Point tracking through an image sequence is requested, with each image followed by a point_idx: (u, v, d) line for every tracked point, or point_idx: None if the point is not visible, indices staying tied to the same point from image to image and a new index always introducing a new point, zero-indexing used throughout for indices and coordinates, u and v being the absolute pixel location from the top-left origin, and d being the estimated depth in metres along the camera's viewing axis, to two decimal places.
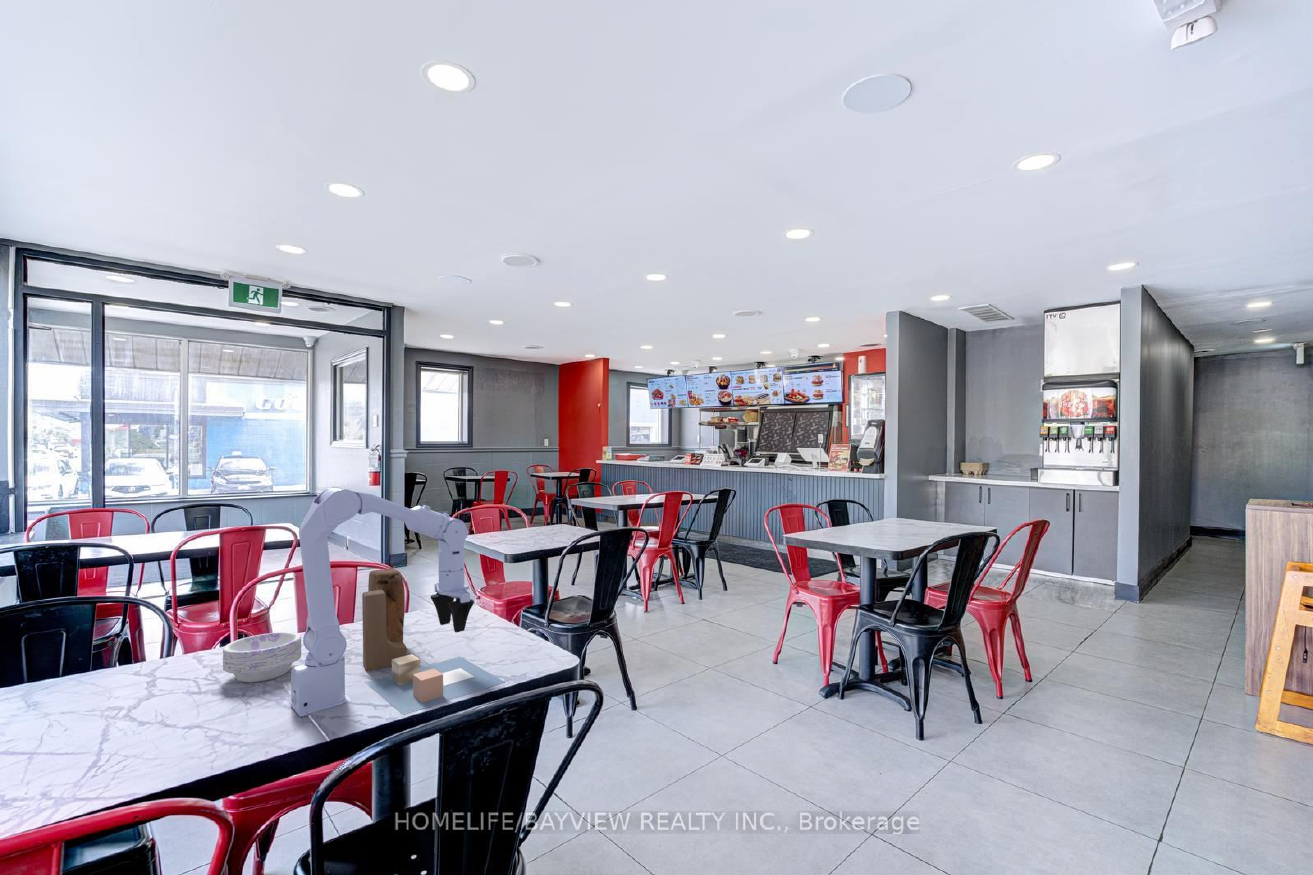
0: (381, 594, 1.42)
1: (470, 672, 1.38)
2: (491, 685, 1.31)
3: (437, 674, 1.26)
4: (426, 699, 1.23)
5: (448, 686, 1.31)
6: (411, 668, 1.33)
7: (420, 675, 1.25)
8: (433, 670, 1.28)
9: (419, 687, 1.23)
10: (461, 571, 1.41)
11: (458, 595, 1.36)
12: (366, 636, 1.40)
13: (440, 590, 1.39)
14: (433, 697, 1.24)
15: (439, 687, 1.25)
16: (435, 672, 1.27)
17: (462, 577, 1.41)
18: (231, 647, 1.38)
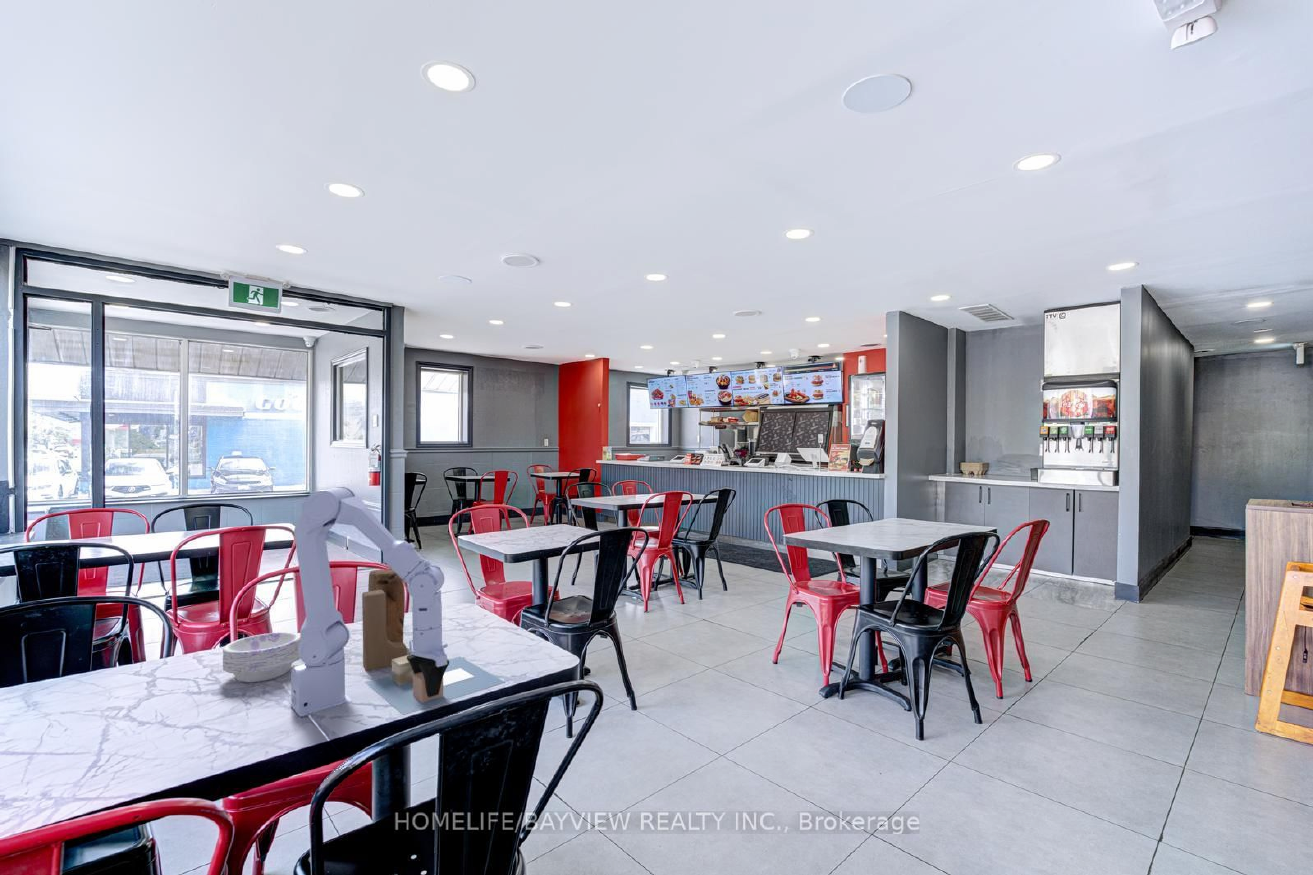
0: (381, 594, 1.42)
1: (470, 672, 1.38)
2: (491, 685, 1.31)
3: None
4: (426, 699, 1.23)
5: (448, 686, 1.31)
6: (411, 668, 1.33)
7: (420, 675, 1.25)
8: None
9: (419, 687, 1.23)
10: (438, 629, 1.25)
11: (433, 658, 1.21)
12: (366, 636, 1.40)
13: (414, 651, 1.24)
14: (433, 697, 1.24)
15: None
16: None
17: (439, 635, 1.25)
18: (231, 647, 1.38)
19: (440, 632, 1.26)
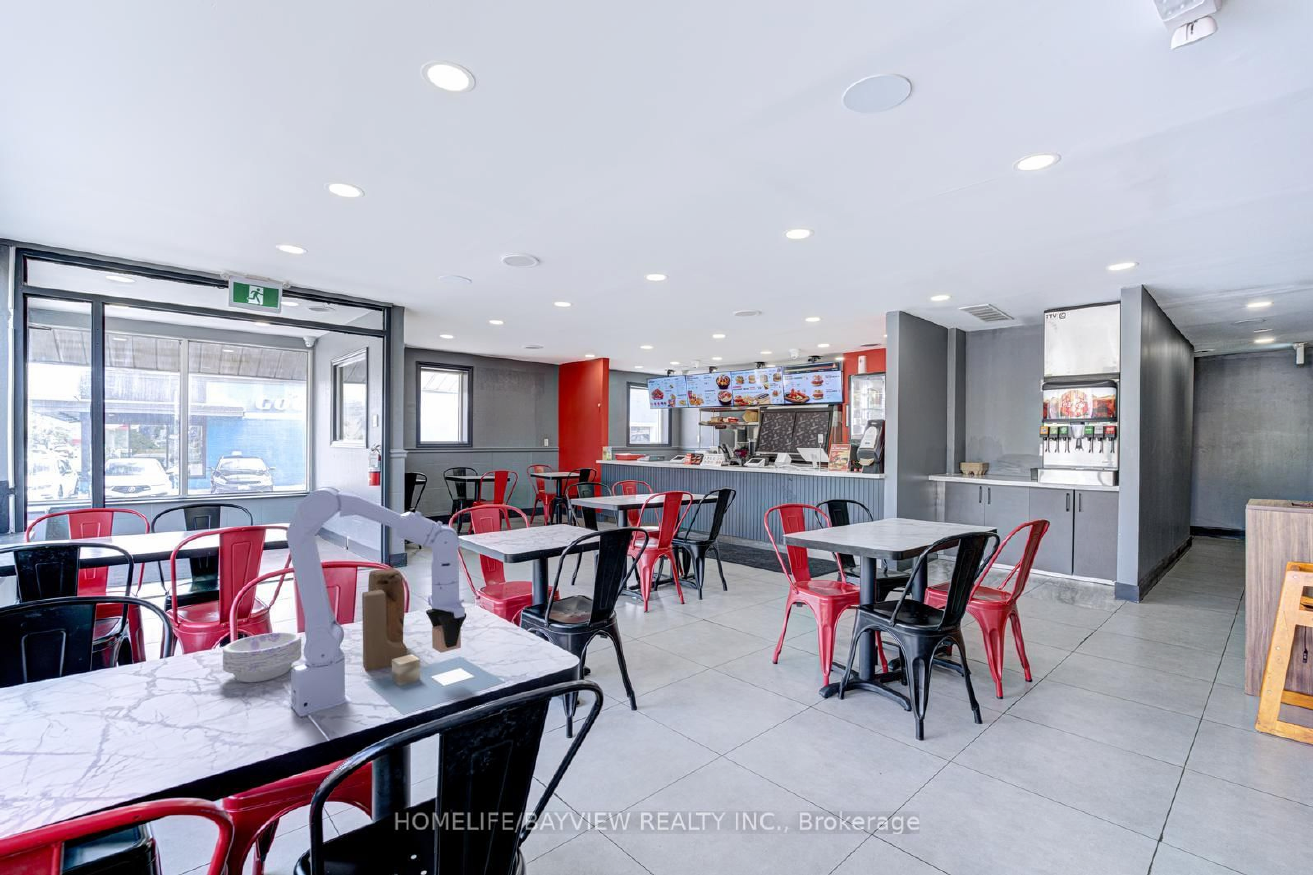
0: (381, 594, 1.42)
1: (470, 672, 1.38)
2: (491, 685, 1.31)
3: None
4: (445, 650, 1.31)
5: (448, 686, 1.31)
6: (411, 668, 1.33)
7: (439, 628, 1.33)
8: None
9: (438, 638, 1.31)
10: (455, 584, 1.32)
11: (452, 610, 1.28)
12: (366, 636, 1.40)
13: (433, 604, 1.31)
14: (451, 648, 1.32)
15: None
16: None
17: (457, 590, 1.32)
18: (231, 647, 1.38)
19: (457, 587, 1.33)
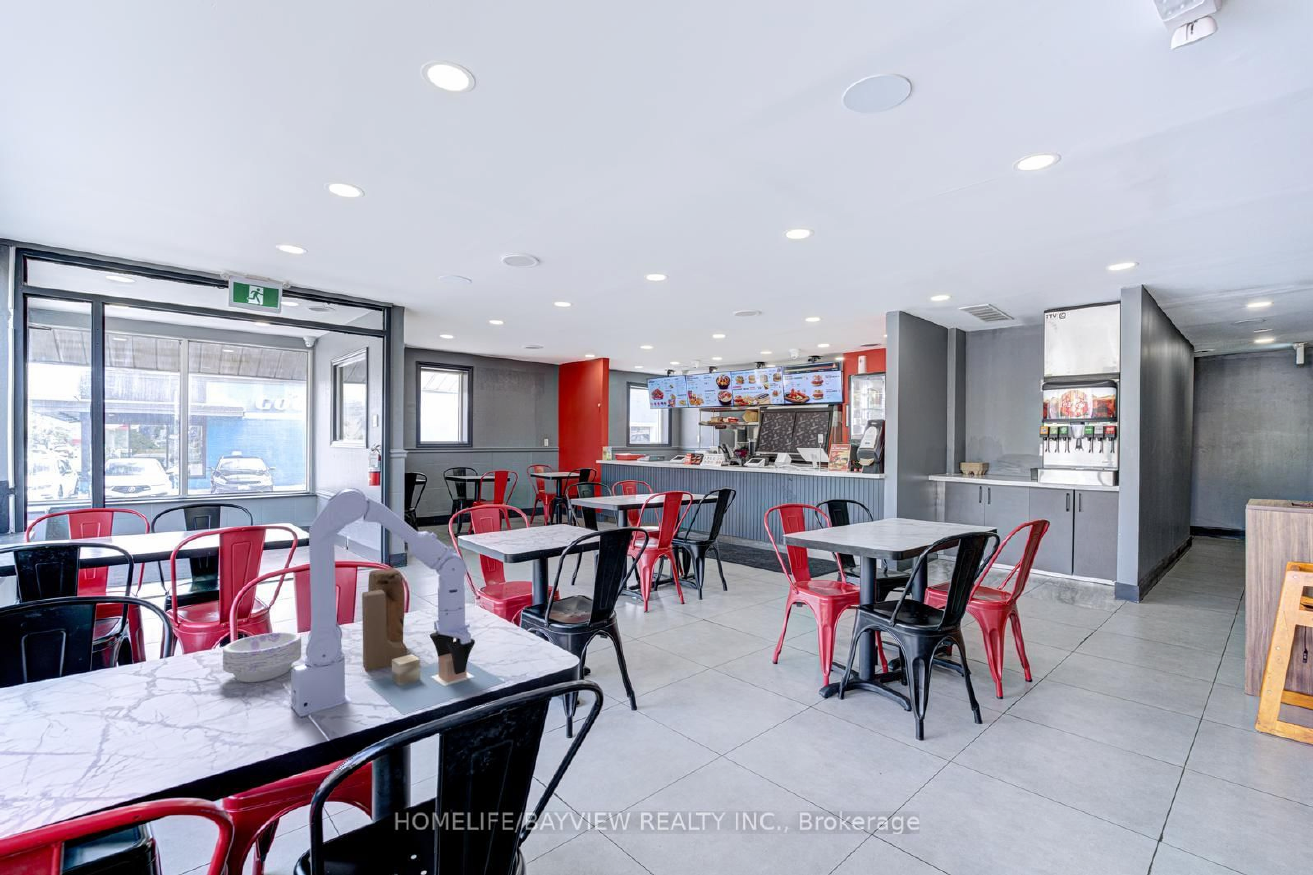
0: (381, 594, 1.42)
1: (470, 672, 1.38)
2: (491, 685, 1.31)
3: None
4: (451, 679, 1.33)
5: (448, 686, 1.31)
6: (411, 668, 1.33)
7: (445, 657, 1.35)
8: None
9: (445, 668, 1.33)
10: (461, 609, 1.35)
11: (458, 636, 1.31)
12: (366, 636, 1.40)
13: (440, 630, 1.33)
14: (457, 677, 1.34)
15: None
16: None
17: (462, 616, 1.35)
18: (231, 647, 1.38)
19: (463, 613, 1.36)
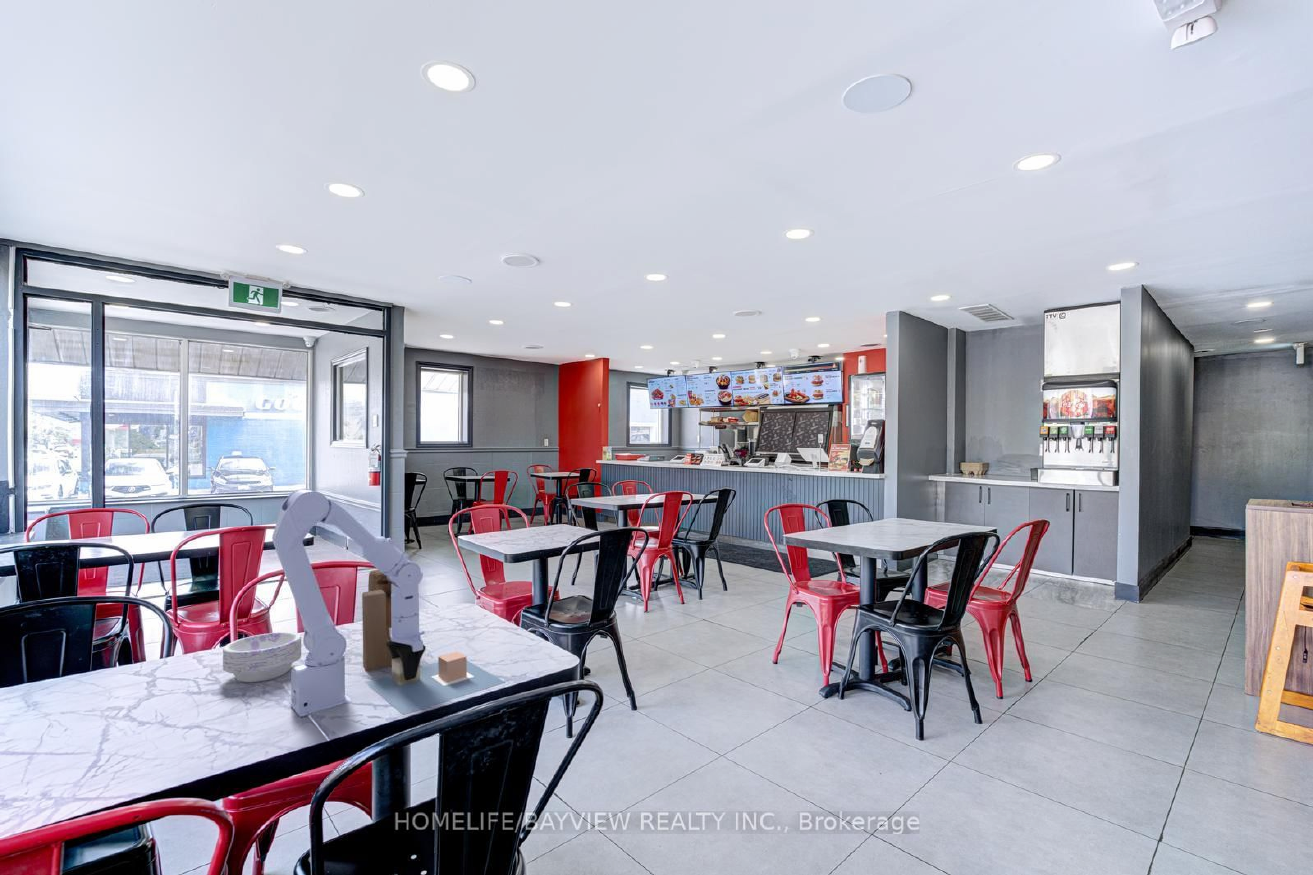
0: (381, 594, 1.42)
1: (470, 672, 1.38)
2: (491, 685, 1.31)
3: (461, 656, 1.36)
4: (451, 679, 1.33)
5: (448, 686, 1.31)
6: None
7: (445, 657, 1.35)
8: (457, 653, 1.38)
9: (445, 668, 1.33)
10: (415, 616, 1.34)
11: (410, 643, 1.30)
12: (366, 636, 1.40)
13: (392, 637, 1.32)
14: (457, 677, 1.34)
15: (463, 668, 1.35)
16: (459, 654, 1.37)
17: (416, 623, 1.34)
18: (231, 647, 1.38)
19: (417, 620, 1.34)
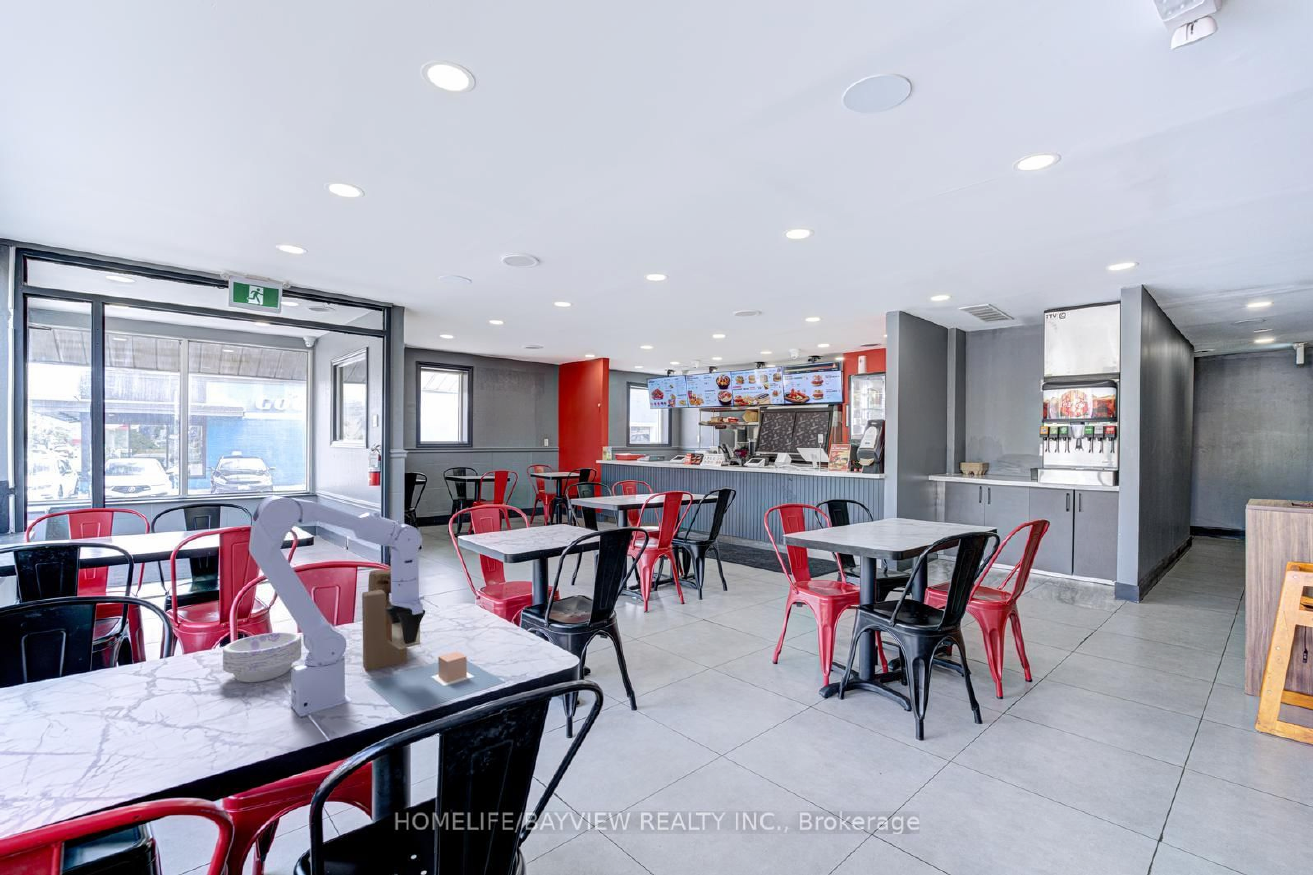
0: (381, 594, 1.42)
1: (470, 672, 1.38)
2: (491, 685, 1.31)
3: (461, 656, 1.36)
4: (451, 679, 1.33)
5: (448, 686, 1.31)
6: None
7: (445, 657, 1.35)
8: (457, 653, 1.38)
9: (445, 668, 1.33)
10: (414, 581, 1.34)
11: (410, 606, 1.30)
12: (366, 636, 1.40)
13: (392, 601, 1.32)
14: (457, 677, 1.34)
15: (463, 668, 1.35)
16: (459, 654, 1.37)
17: (416, 587, 1.34)
18: (231, 647, 1.38)
19: (417, 584, 1.34)
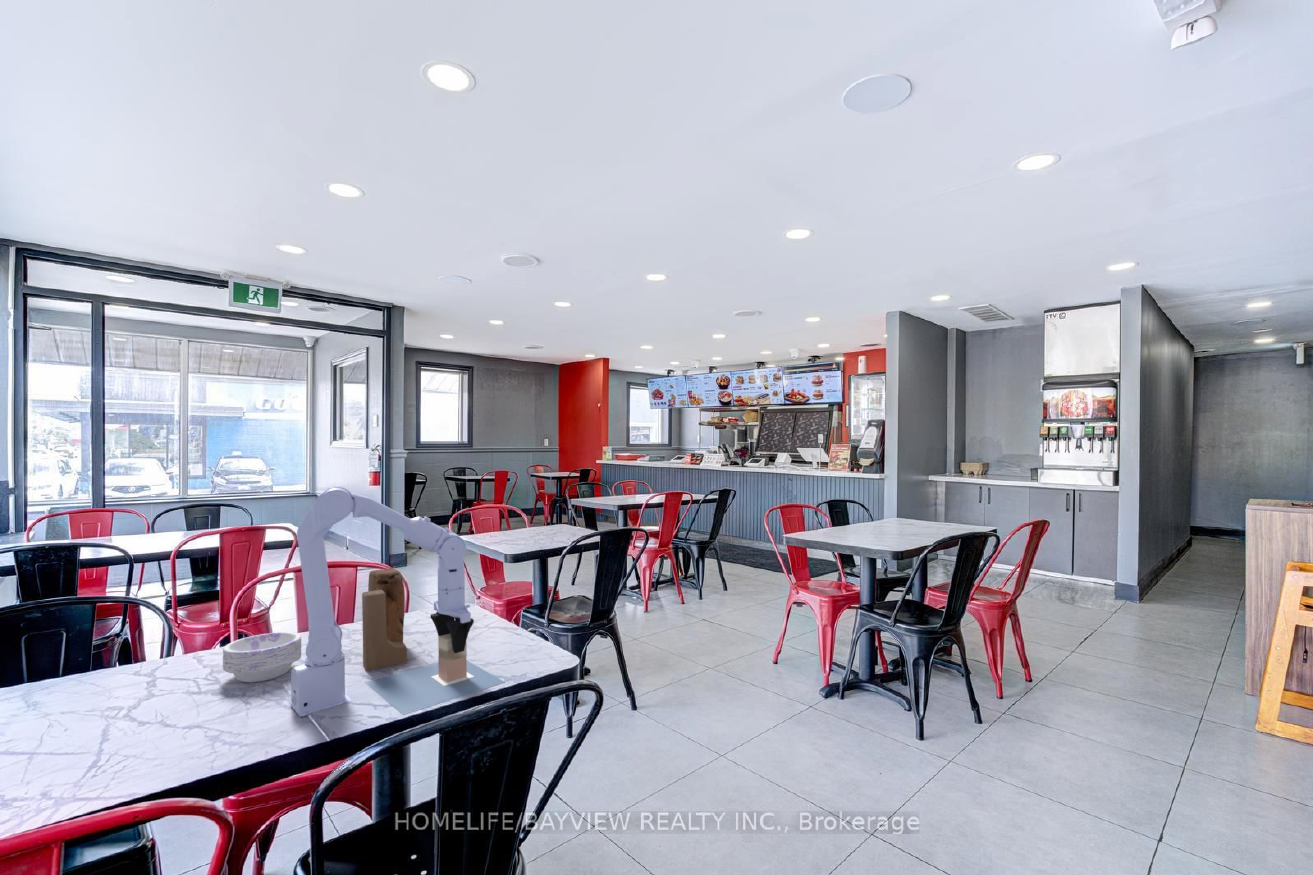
0: (381, 594, 1.42)
1: (470, 672, 1.38)
2: (491, 685, 1.31)
3: None
4: (451, 679, 1.33)
5: (448, 686, 1.31)
6: None
7: None
8: None
9: (445, 668, 1.33)
10: (461, 589, 1.35)
11: (458, 615, 1.31)
12: (366, 636, 1.40)
13: (439, 609, 1.33)
14: (457, 677, 1.34)
15: (463, 668, 1.35)
16: None
17: (462, 595, 1.35)
18: (231, 647, 1.38)
19: (463, 593, 1.35)
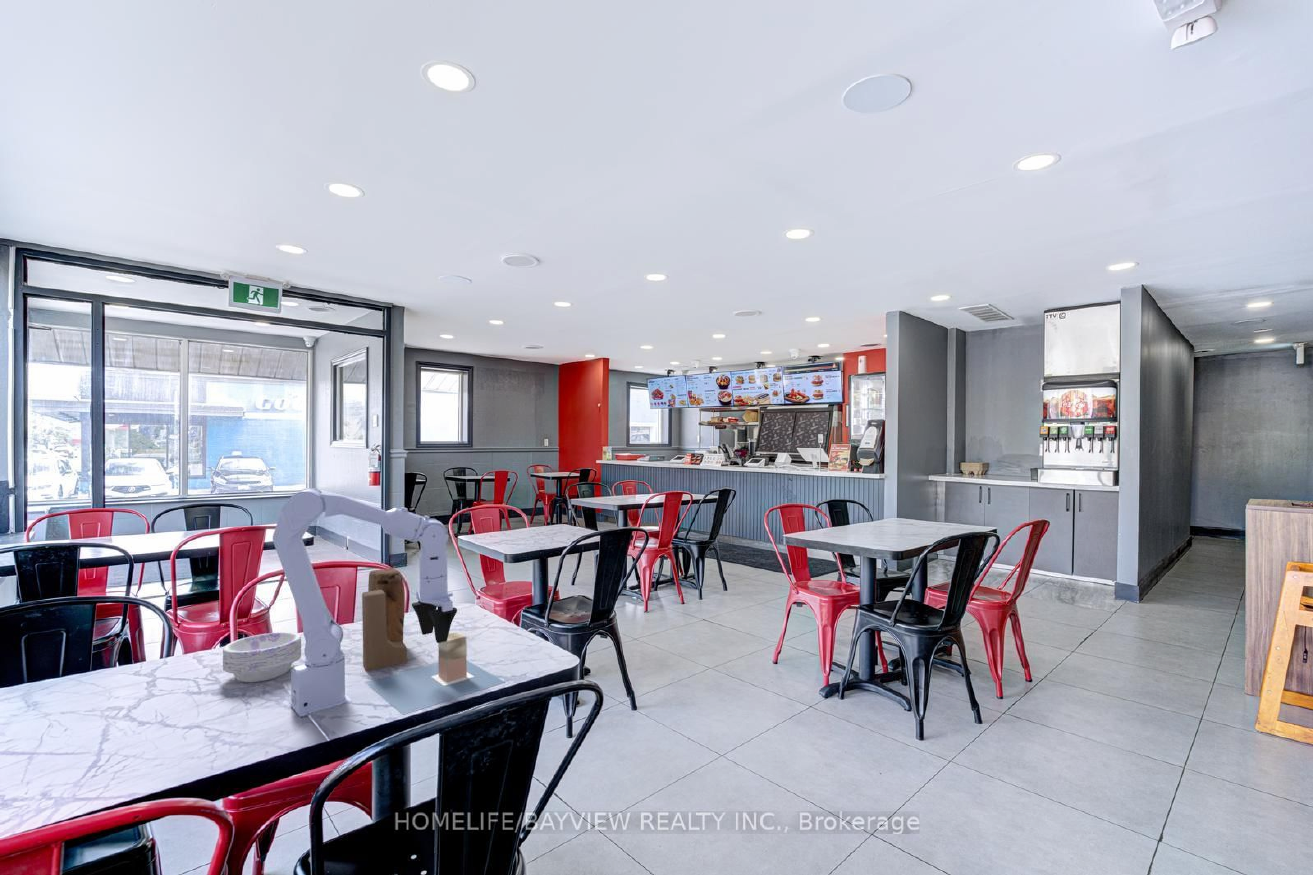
0: (381, 594, 1.42)
1: (470, 672, 1.38)
2: (491, 685, 1.31)
3: None
4: (451, 679, 1.33)
5: (448, 686, 1.31)
6: (457, 645, 1.34)
7: None
8: None
9: (445, 668, 1.33)
10: (444, 577, 1.32)
11: (440, 603, 1.28)
12: (366, 636, 1.40)
13: (421, 598, 1.31)
14: (457, 677, 1.34)
15: (463, 668, 1.35)
16: None
17: (445, 584, 1.32)
18: (231, 647, 1.38)
19: (446, 581, 1.33)
